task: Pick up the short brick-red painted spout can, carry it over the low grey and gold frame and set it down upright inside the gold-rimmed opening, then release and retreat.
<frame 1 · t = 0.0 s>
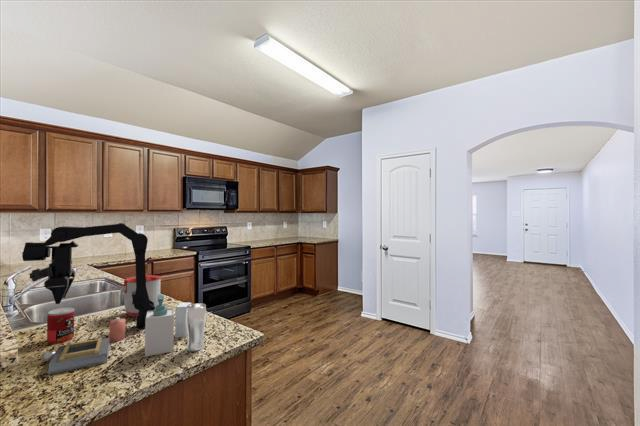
hand: (60, 300, 110), 15 cm above the counter, fingers open, 9 cm apart
skincare box: (183, 334, 117), on the counter
canned food: (60, 340, 110), on the counter
citrus juicer: (140, 314, 140), on the counter
soap bottle: (159, 349, 104), on the counter
grey and gold frame: (82, 358, 96), on the counter
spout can: (117, 339, 112), on the counter
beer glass: (195, 348, 105), on the counter
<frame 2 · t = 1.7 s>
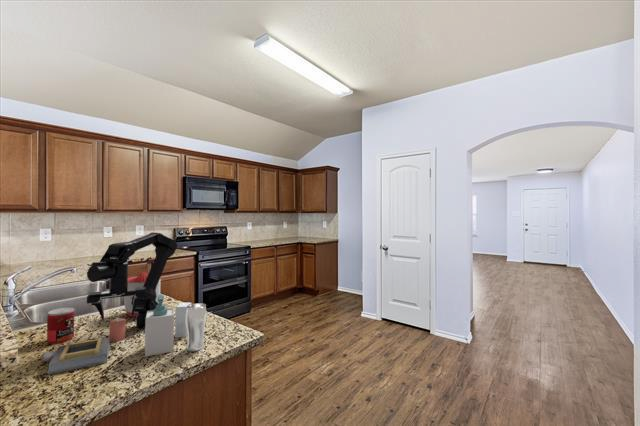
hand: (118, 317, 112), 8 cm above the counter, fingers open, 9 cm apart
nothing on the counter moved.
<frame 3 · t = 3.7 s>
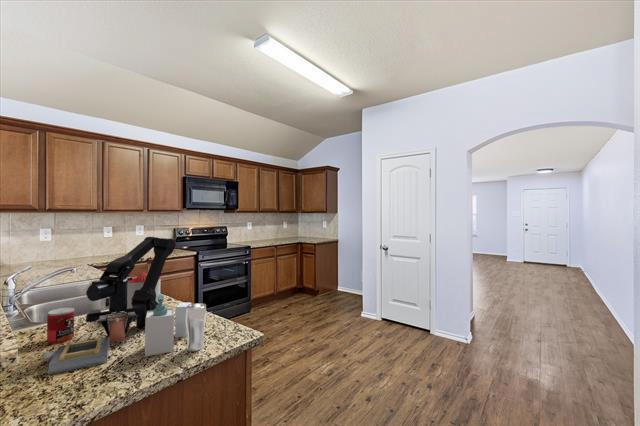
hand: (117, 334, 112), 2 cm above the counter, fingers closed on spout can, 5 cm apart
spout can: (117, 338, 112), on the counter, touching gripper
everything else where it was.
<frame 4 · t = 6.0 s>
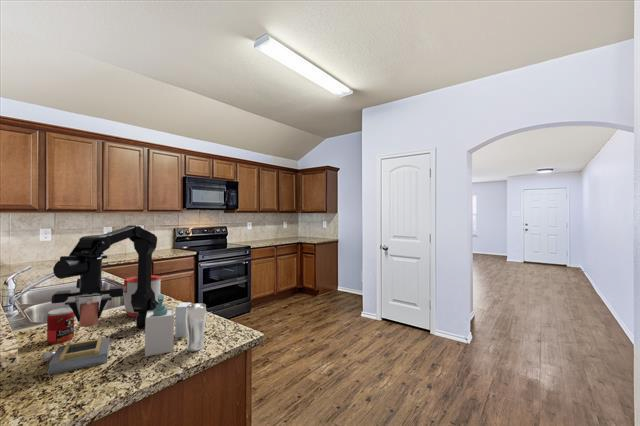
hand: (89, 319, 98), 12 cm above the counter, fingers closed on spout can, 5 cm apart
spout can: (88, 324, 98), point 10 cm above the counter, touching gripper
everything else where it was.
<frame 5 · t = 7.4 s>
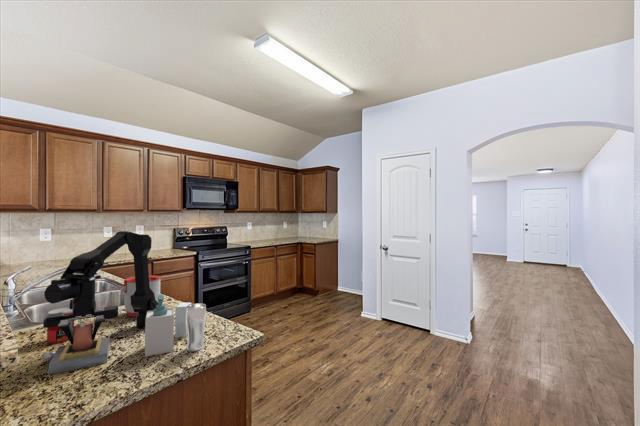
hand: (82, 342, 96), 5 cm above the counter, fingers closed on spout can, 5 cm apart
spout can: (82, 346, 96), point 4 cm above the counter, touching gripper
everything else where it was.
when the fingers open (4 cm above the counter, at t = 8.4 s): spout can drops 3 cm, resting on grey and gold frame.
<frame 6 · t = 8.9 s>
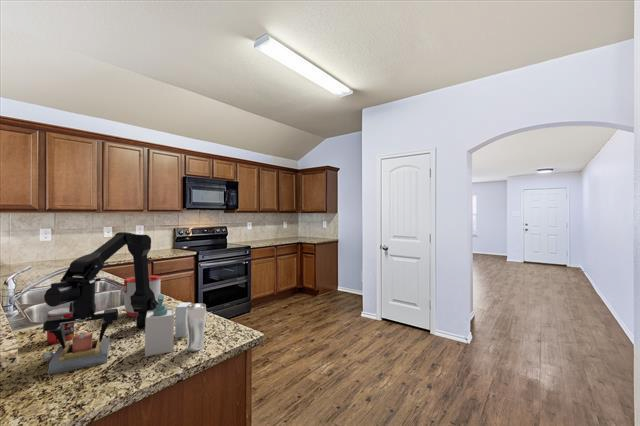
hand: (82, 345, 96), 4 cm above the counter, fingers open, 9 cm apart
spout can: (82, 357, 96), resting on grey and gold frame
everything else where it was.
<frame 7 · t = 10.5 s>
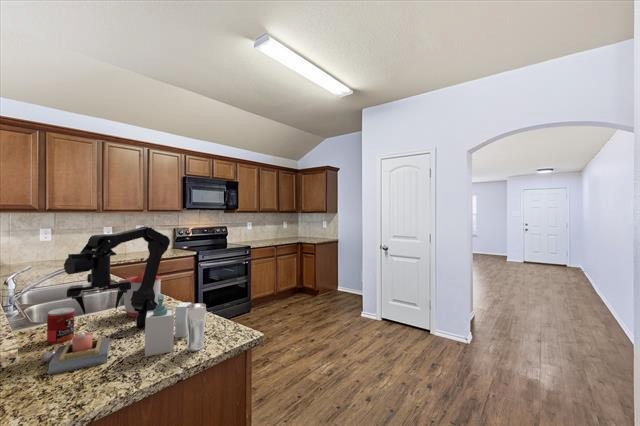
hand: (100, 311, 108), 12 cm above the counter, fingers open, 9 cm apart
nothing on the counter moved.
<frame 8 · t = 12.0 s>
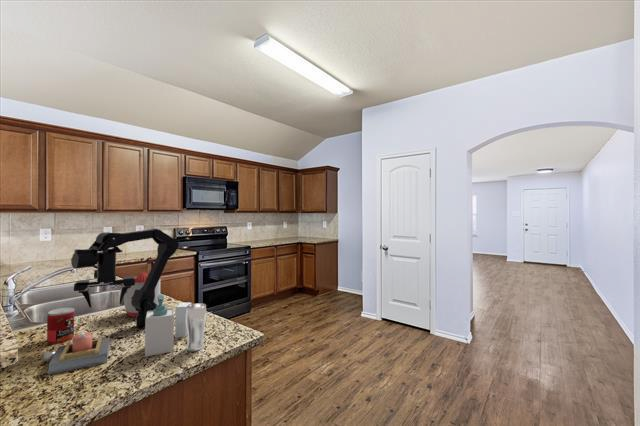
hand: (105, 305, 112), 13 cm above the counter, fingers open, 9 cm apart
nothing on the counter moved.
at the end: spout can 0.0 cm off-centre on the grey and gold frame, point 0.4 cm above the grey and gold frame's base; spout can tilted 0°; the gripper is holding nothing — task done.
